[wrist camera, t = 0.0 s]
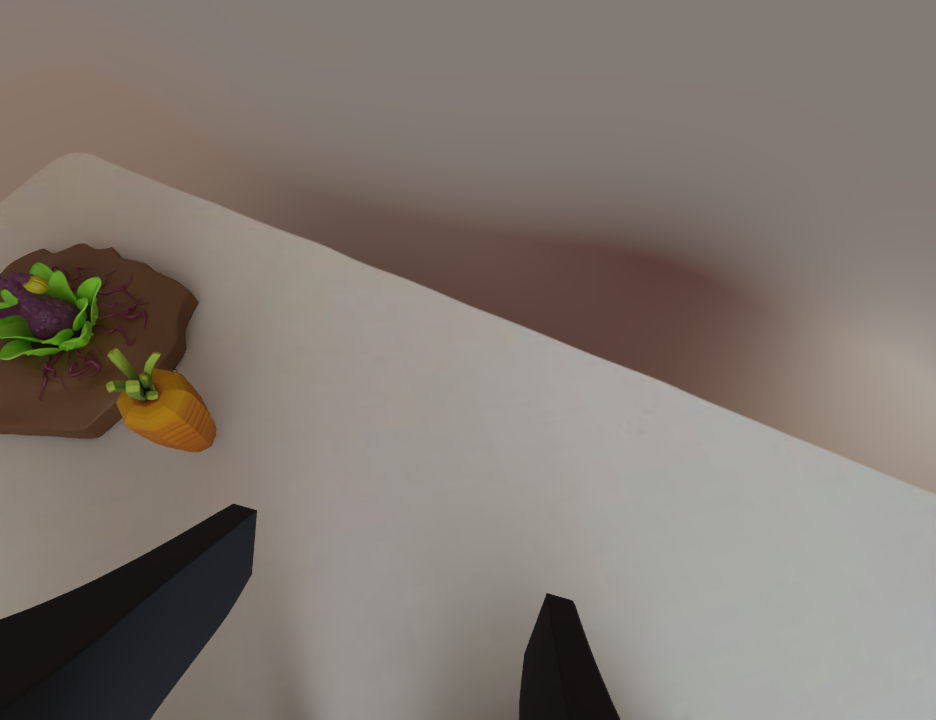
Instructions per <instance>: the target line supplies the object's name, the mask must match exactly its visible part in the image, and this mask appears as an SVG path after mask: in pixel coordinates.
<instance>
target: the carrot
mask: <svg viewBox="0 0 936 720" xmlns="http://www.w3.org/2000/svg"><path fill="white" fill-rule="evenodd" d="M160 355H161V353H159V352H153V353H152V354H151V355H150V356H149V358H148V359H147V361H146V362H145V367H144V373H142V374H140V375H138V374H137V372H136V371H135V370H134V368H133V367H132V366H131V364H130V363H129V362H128V361H127V359H126V358H125V357H124V355H123V354H122V353H121V352H120V351H119V350H118V349H117V348H114V349H113V350H111V351H110V352H109V353H108V355H107V356H108V357H109V358H110V360H111V361H112V362H113V363H114V364H115V365H116V366H117V368H118V369H119V370H120V371H121V372H122V373H123V374H124V375H125V376H126V377H127V378H128V379H129V380H128V381H120V380H117V381H111V382H108V383H107V384H106V388H107V390H108V392H109V393H112V392H119V391H121V394H120V396H119V398H118V400H117V401H116V404H117V406H118V408H119V411H120V413H121V415H122V417H123V420H124V422H125V424H126V426H127V427H128V428H129V429H131V430H133V431H134V432H136V433H138V434H139V435H141V436H143V437H145V438H147V439H148V440H150V441H152V442H154V443H156V444H160V445H163V446H166V447H170V448H174V449H179V450H184V451H189V452H200V451H203V450H205V449H207V448H209V447H211V446H212V443H213V441H214V438H215V436H216V427H215V424H214V421H213V419H212V417H211V415H210V413H209V412H208V410H207V408H206V406H205V404H204V402H203V400H202V398H201V396H200V395H199V394H198V393H197V391H196V390H195V389H194V387H193V386H192V385H191V384H190V383H189V382H188V381H187V379H186V378H185V377H184V376H183V375H182V374H180V373H177V372H172V371H167V370H161V369H156V368H154V365H155V363H156V361H157V360H158V359H159V357H160Z"/></svg>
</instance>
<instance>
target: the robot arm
mask: <svg viewBox="0 0 936 720" xmlns="http://www.w3.org/2000/svg"><path fill="white" fill-rule="evenodd" d="M256 517H257V510H254V509H250V508H247V507H243V506H240V505H236V504H232V505H230V506H228V507H227V508H225V509H223V510H221V511H220V512H218V513H216V514H214V515H213V516H211V517H209V518H207V519H206V520H204V521H202V522H201V523H199V524H197V525H196V526H194V527H192V528H190V529H189V530H187V531H185V532H184V533H182V534H180V535H178V536H177V537H175V538H173V539H171V540H169V541H168V542H166V543H164V544H162V545H161V546H159V547H157V548H155V549H153V550H152V551H150V552H148V553H146V554H144V555H143V556H141V557H139V558H137V559H135V560H133V561H131V562H129V563H127V564H125V565H123V566H121V567H119V568H117V569H115V570H113V571H112V572H110V573H108V574H106V575H104V576H102V577H100V578H98V579H96V580H94V581H92V582H89V583H87V584H85V585H83V586H81V587H79V588H77V589H74V590H72V591H70V592H68V593H65V594H63V595H61V596H58V597H56V598H54V599H51V600H49V601H47V602H44V603H42V604H40V605H37V606H35V607H32V608H30V609H27V610H24V611H22V612H19V613H16V614H14V615H11V616H8V617H6V618H3V619H0V720H150V719H151V717H152V716H153V714H154V713H155V712H156V710H157V709H158V707H159V706H160V704H161V703H162V702H163V701H164V699H165V698H166V697H167V695H168V694H169V693H170V691H171V690H172V689H173V687H174V686H175V685H176V683H177V682H178V681H179V679H180V678H181V677H182V675H183V674H184V673H185V671H186V670H187V669H188V667H189V666H190V665H191V663H192V662H193V661H194V659H195V658H196V657H197V656H198V654H199V653H200V652H201V650H202V649H203V648H204V646H205V645H206V644H207V642H208V641H209V640H210V638H211V637H212V636H213V634H214V633H215V632H216V630H217V629H218V628H219V626H220V625H221V623H222V622H223V621H224V619H225V618H226V617H227V615H228V614H229V612H230V610H231V609H232V607H233V606H234V604H235V602H236V601H237V599H238V597H239V596H240V594H241V592H242V590H243V589H244V587H245V585H246V583H247V582H248V580H249V578H250V577H251V575H252V566H253V553H254V541H255V529H256ZM519 720H620V718H619V716H618V713H617V711H616V709H615V707H614V705H613V702H612V700H611V698H610V695H609V693H608V691H607V688H606V686H605V684H604V681H603V679H602V677H601V674H600V672H599V669H598V667H597V664H596V662H595V659H594V657H593V654H592V652H591V649H590V646H589V644H588V641H587V638H586V635H585V633H584V630H583V627H582V624H581V621H580V618H579V615H578V612H577V609H576V606H575V604H574V602H573V601H572V600H569V599H565V598H562V597H558V596H555V595H551V594H548V593H547V594H546V597H545V600H544V602H543V605H542V608H541V610H540V613H539V616H538V618H537V621H536V624H535V627H534V629H533V632H532V635H531V637H530V640H529V643H528V645H527V648H526V651H525V654H524V661H523V671H522V680H521V690H520V701H519Z"/></svg>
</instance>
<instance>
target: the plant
mask: <svg viewBox="0 0 936 720" xmlns="http://www.w3.org/2000/svg"><path fill="white" fill-rule="evenodd" d="M197 304H198V301H197V300H196V298H195V297H194V296H193V295H192V293H191V292H190V291H189V290H187V289H186V288H185V287H184V286H183V285H181V284H180V283H179V282H178V281H176V280H174V279H172V278H169V277H167V276H164V275H162V274H160V273H158V272H156V271H155V270H153V269H152V268H151V267H150V266H148V265H146V264H144V263H142V262H138V261H133V260H128V259H123V258H121V256H120V255H119V254H118V253H117V251H116V250H115V249H114V248H112V247H111V248H107V249H101V250H98V249H94V248H92V247H90V246H88V245H86V244H77V245H74V246H72V247H70V248H68V249H66V250H63V251H60V252H57V253H51V252H49V251H48V250H46V249H40V250H38V251H35V252H32V253H30V254H28V255H25V256H23V257H21V258H19V259H18V260H16V261H14V262H13V263H11V264H10V265H9V266H7V267H6V268H5V269H4V270H3V272H2V273H1V274H0V434H19V435H37V436H58V437H67V438H97V437H100V436H102V435H103V434H104V433H105V432H106V431H107V430H109V429H110V428H111V427H112V426H113V425H114V424H115V423H116V422H118V421H119V420H120V419H121V418H122V415H121V413H120V411H119V408H118V406H117V404H116V401H117V400H118V398H119V396H120V394H121V391H119V392H112V393H109V392H108V390H107V388H106V384H107V383H108V382H111V381H117V380H120V381H128V380H129V379H128V378H127V377H126V376H125V375H124V374H123V373H122V372H121V371H120V370H119V369H118V368H117V366H116V365H115V364H114V363H113V362H112V361H111V360H110V358H109V357H108V356H107V355H108V353H109V352H110V351H111V350H113V349H114V348H117V349H118V350H119V351H120V352H121V353H122V354H123V355H124V357H125V358H126V359H127V361H128V362H129V363H130V364H131V366H132V367H133V368H134V370H135V371H136V372H137V374H138V375H140V374H142V373H144V367H145V362H146V361H147V359H148V358H149V356H150V355H151V354H152V353H153V352H159V353H161V355H160V357H159V359H158V360H157V361H156V363H155V365H154V368H156V369H161V370H167V371H172V370H173V369H174V368H175V366H176V365H177V363H178V362H179V361H180V359H181V358H182V356H183V355H184V353H185V350H186V344H185V329H186V326H187V324H188V321H189V319H190V317H191V315H192V313H193V311H194V309H195V308H196V306H197Z"/></svg>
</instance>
